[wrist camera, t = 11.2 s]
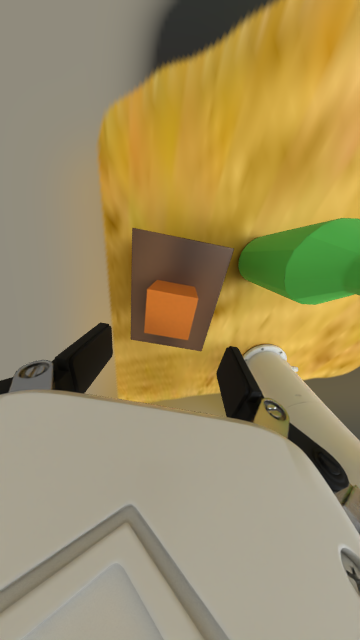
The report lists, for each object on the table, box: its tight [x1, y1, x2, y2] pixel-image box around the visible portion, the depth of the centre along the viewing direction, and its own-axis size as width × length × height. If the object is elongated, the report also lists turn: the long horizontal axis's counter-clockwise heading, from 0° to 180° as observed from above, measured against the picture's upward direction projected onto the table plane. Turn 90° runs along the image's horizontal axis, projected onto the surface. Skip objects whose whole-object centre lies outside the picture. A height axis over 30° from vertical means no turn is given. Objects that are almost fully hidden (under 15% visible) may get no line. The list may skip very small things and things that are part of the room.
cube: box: [144, 280, 198, 340], centre depth 17 cm, size 5×5×5 cm
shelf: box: [131, 228, 234, 351], centre depth 26 cm, size 13×16×13 cm
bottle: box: [238, 218, 360, 305], centre depth 18 cm, size 9×9×25 cm
